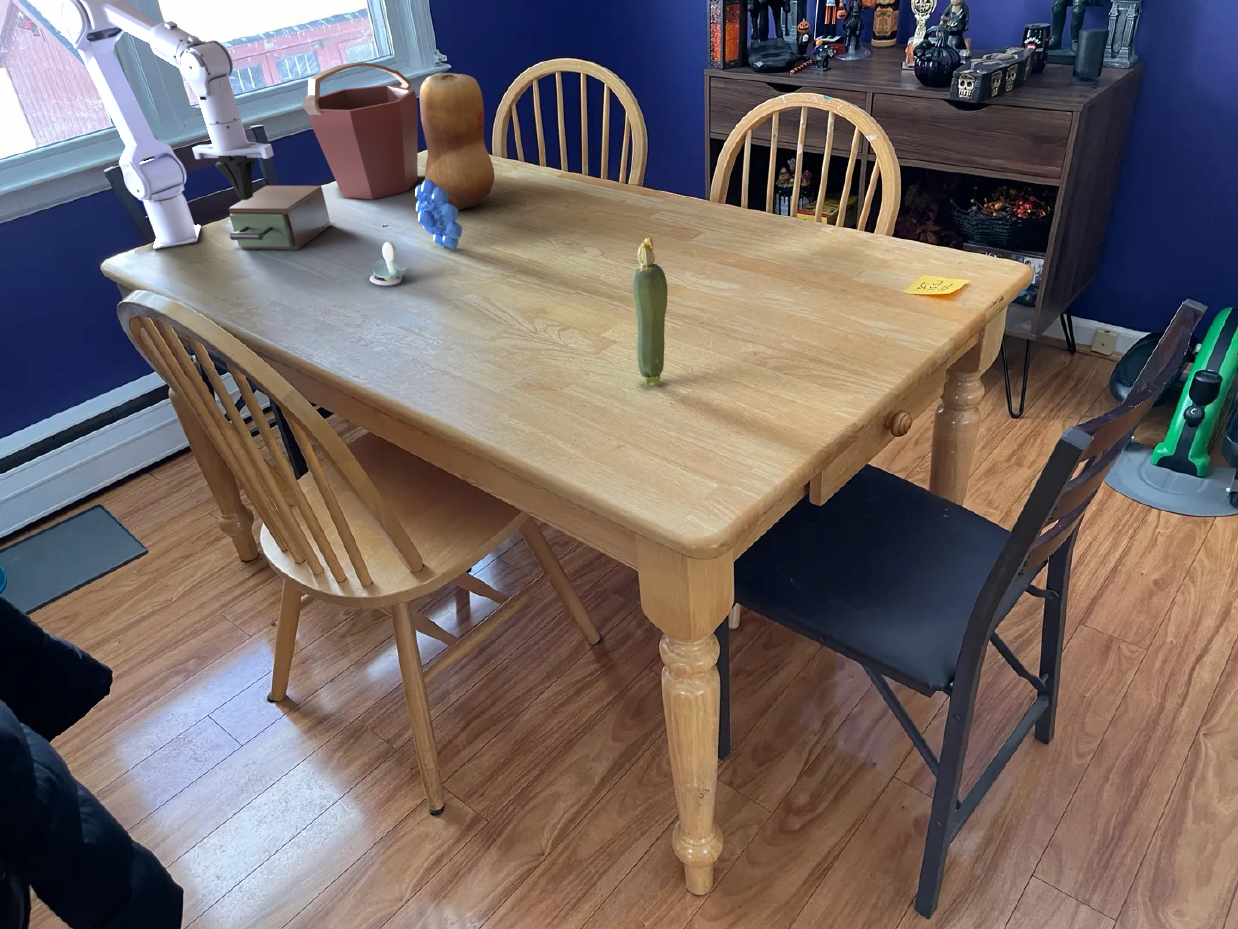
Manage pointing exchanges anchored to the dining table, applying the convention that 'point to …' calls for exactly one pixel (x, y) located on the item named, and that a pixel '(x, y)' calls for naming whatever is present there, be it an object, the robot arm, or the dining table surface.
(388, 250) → the pacifier
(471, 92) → the butternut squash
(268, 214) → the drawer
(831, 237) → the dining table surface
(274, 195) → the cabinet
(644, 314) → the vegetable
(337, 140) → the bucket
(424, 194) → the grapes
